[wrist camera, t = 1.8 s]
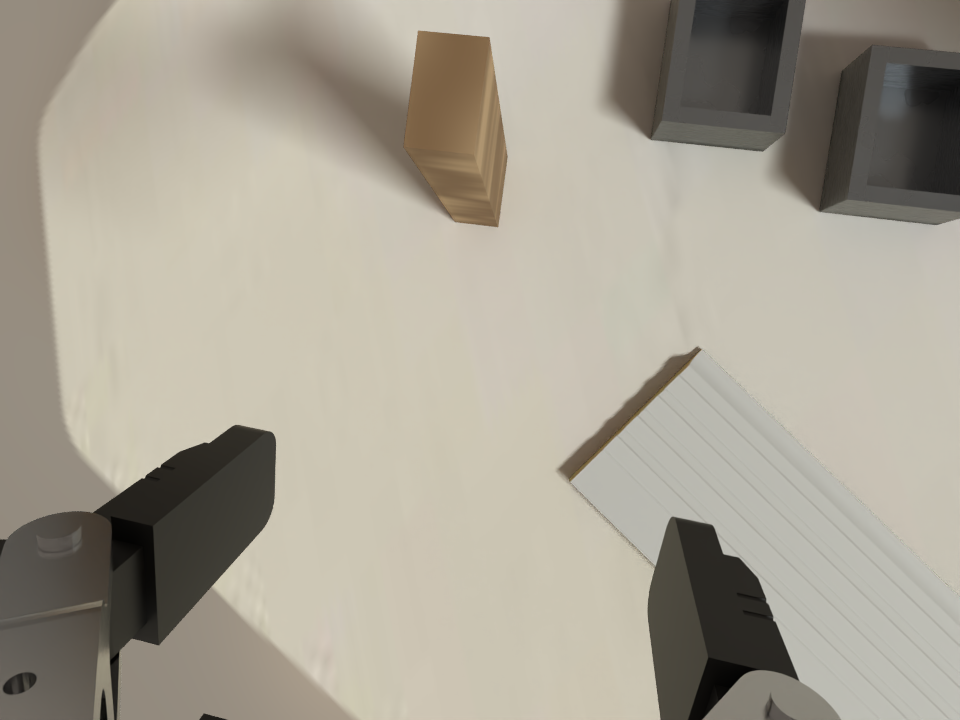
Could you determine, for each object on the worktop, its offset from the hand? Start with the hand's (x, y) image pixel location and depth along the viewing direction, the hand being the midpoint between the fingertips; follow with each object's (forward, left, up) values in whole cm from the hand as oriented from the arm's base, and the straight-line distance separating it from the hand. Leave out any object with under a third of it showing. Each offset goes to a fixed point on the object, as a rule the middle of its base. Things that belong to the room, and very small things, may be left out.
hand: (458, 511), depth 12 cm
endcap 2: (-23, -9, -23) cm, 34 cm away
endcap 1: (-15, -15, -23) cm, 32 cm away
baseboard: (-16, +15, -24) cm, 33 cm away
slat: (-1, -12, -23) cm, 26 cm away
